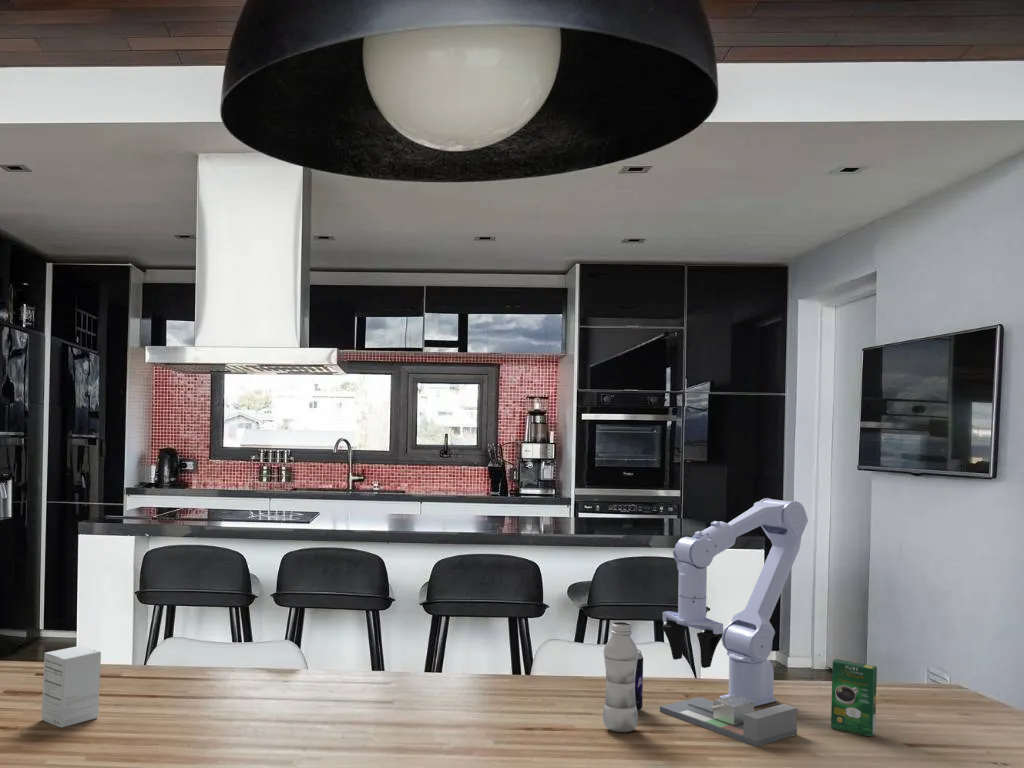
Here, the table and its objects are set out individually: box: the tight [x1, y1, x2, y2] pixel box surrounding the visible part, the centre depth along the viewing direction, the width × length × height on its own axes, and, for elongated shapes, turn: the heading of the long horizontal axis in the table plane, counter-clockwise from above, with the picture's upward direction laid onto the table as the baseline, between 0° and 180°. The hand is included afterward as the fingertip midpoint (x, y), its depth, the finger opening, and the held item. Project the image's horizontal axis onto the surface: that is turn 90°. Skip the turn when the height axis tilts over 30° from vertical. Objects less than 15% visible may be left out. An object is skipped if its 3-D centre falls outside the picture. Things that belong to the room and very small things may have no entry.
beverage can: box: [635, 648, 644, 713], centre depth 180 cm, size 6×6×12 cm
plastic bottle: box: [602, 621, 639, 733], centre depth 168 cm, size 6×7×20 cm
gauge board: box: [659, 696, 798, 748], centre depth 173 cm, size 12×24×5 cm, turn 37°
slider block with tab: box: [710, 695, 755, 725], centre depth 171 cm, size 10×5×4 cm, turn 127°
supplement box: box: [41, 645, 102, 729], centre depth 166 cm, size 7×7×13 cm
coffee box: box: [830, 658, 878, 738], centre depth 170 cm, size 8×3×13 cm, turn 54°
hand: (691, 662), depth 182 cm, fingers open, 7 cm apart
